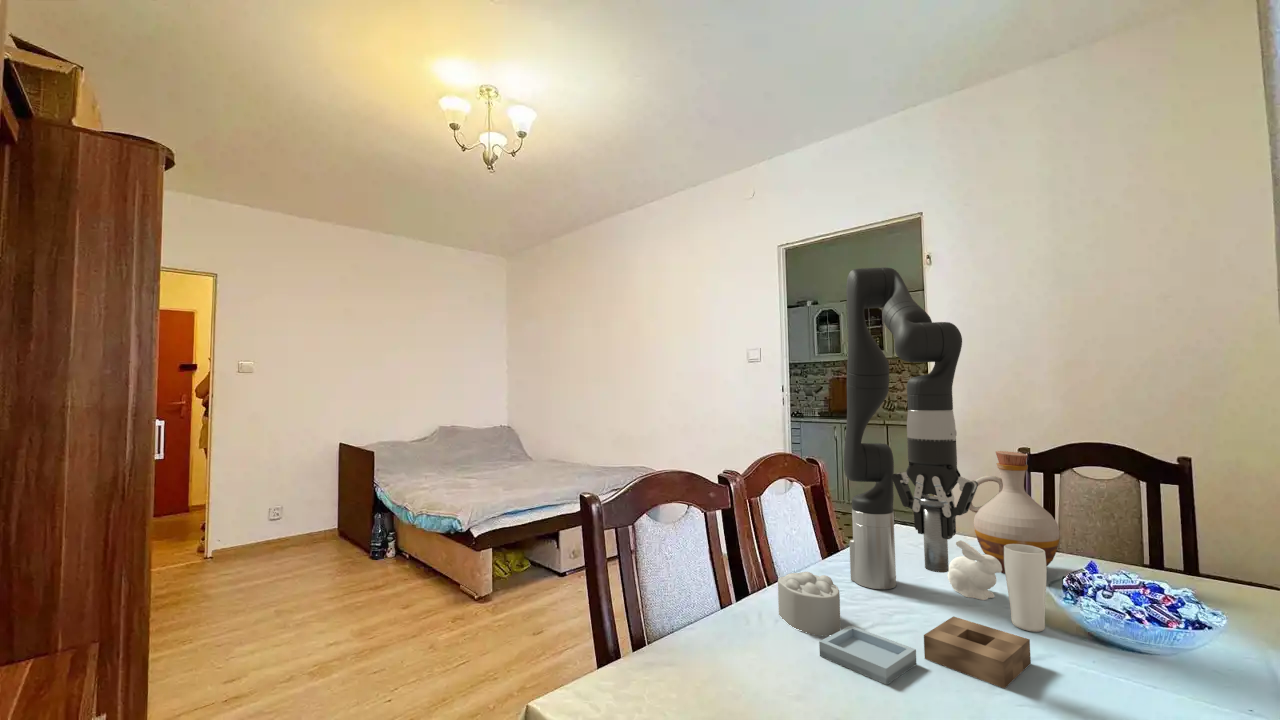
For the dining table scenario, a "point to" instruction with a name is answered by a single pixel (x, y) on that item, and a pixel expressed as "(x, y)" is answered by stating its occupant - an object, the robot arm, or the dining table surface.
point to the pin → (934, 535)
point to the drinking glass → (1026, 585)
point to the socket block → (978, 651)
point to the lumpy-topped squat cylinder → (809, 603)
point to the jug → (1013, 513)
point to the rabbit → (973, 573)
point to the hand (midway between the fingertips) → (935, 535)
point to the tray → (868, 654)
